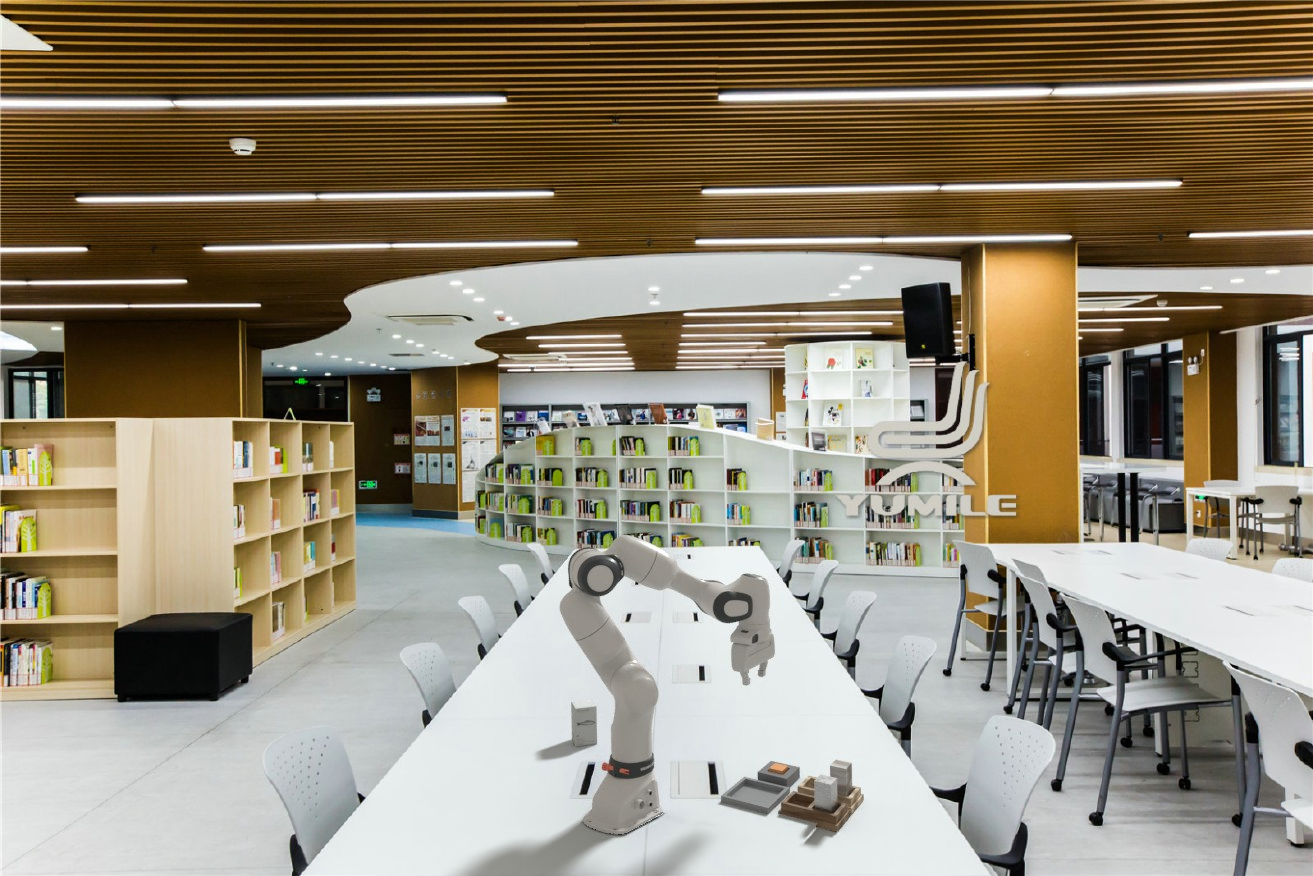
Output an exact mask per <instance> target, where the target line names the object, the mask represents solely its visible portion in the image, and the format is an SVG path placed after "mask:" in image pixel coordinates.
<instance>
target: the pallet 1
mask: <svg viewBox="0 0 1313 876" xmlns="http://www.w3.org/2000/svg"><path fill="white" fill-rule="evenodd" d="M829 776H830V777H834V778H837V798H838V802H841V803H846V804H847V810H849V811H850V815H853V813H854V812H855V811H856V810H857V809H858V808H859V806H860V805H861V804H862V803H863V801H864V800H865V799H864V793H862V789H861V788H862V787H860V786H855V785H853V763H852V762H849V761H844V760H841V759H840V760H839V759H834V761H833V762H832V763H830V764H829ZM816 778H817V776H811V775H808V776H806V778H805V779H804V780H803V781H802V782H801V783H800V784H798V785H797V792H800V793H804V794H808V795H812V796H814V780H815V779H816Z"/></svg>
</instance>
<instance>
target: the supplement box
mask: <svg viewBox="0 0 1313 876" xmlns="http://www.w3.org/2000/svg"><path fill="white" fill-rule="evenodd" d="M570 706H571V709H570V710H571V711H570V712H571V713H570V716H571V740H572V742H573V744H574V746H575V747H576V746H577V747H581V746H590V745H598V723H597V722H598V721H597V720H598V718H597V715H598V712H597V710H598V709H597V708H598V707H597V704H596V703H595V702H594V699H588V700H587V699H586V700H578V701H577V700H576V701H571V703H570Z"/></svg>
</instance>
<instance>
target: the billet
mask: <svg viewBox="0 0 1313 876" xmlns="http://www.w3.org/2000/svg"><path fill="white" fill-rule="evenodd" d="M814 798H815V809H816V810H820V811H824V812H828V813H832V814H834V813H835V812H836V811H837V809H838V798H837V778H834V777H830V775H824V774H819V776H817V777H816V779H815V780H814Z"/></svg>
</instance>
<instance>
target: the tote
mask: <svg viewBox="0 0 1313 876" xmlns="http://www.w3.org/2000/svg"><path fill="white" fill-rule="evenodd" d="M790 793H791V787H785V786H781V785H777V784H773V783H769V782H765V781H760V780H758V779H755V778H751V777H747V776H743V777H741V779H740V780H739V781H737V782H736V783H734V785H733V786H731V787H730V788H728V790H726V791H725V792H723V794H721V795H720V802H721V803H724V804H728V805H732V806H737V807H739V808H744V809H748V810H751V811H756V812H759V813H764V814H767V815H769V814H770V813H771V812H772V811H773V810H775V808H776V807H777V806H778V805H780V804H781V802H782V801H783V800H784V799H785V798H786V797H787V796H788V795H789V794H790Z"/></svg>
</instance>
